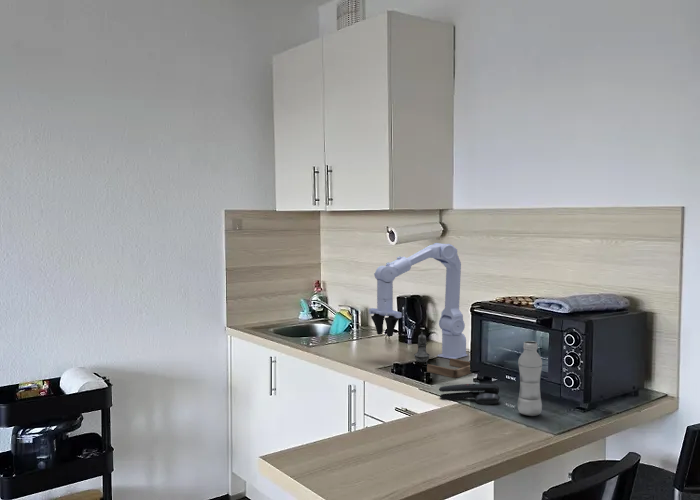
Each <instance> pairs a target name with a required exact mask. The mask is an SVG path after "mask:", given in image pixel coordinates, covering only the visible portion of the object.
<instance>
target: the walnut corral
mask: <svg viewBox="0 0 700 500" xmlns="http://www.w3.org/2000/svg"><path fill="white" fill-rule="evenodd" d="M470 362H471V361H468V360H463V359H462V360H461V359H459V358H457V359H453V358H450V359H449V366H450V367H455V368H456V369H453V368H449V367H445V366H444V367H443V366H440V365H435V364H430V363H428V365H427V366H426V372H427V373H430V374H435V375H439V376H440V375H441V376H444V377H447V378H453V379H457V378H460V377H463V376H466V375H470V374H472V373H471V372H470Z"/></svg>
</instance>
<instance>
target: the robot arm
mask: <svg viewBox="0 0 700 500" xmlns="http://www.w3.org/2000/svg"><path fill="white" fill-rule="evenodd" d="M427 259H434V260H436V261H437V262H440V263H441V264H442V265H443V266H444V267H445V268H446V269H445V270H446V271H445V273H446V274H445V294H444V298H445V299H444V300H445V301H444V308H443V310H442V311H441V313H440V314H441V316H440V319H439V320H438V325H439V328H440V330H441V353H440V354H437V355H436V356H437V357H438V358H439V357H440V358H445V359H449V360H450V358H453V359H460V358H464V357H468V356H469V353H468V354H467V338H466V336H465V334H464V333H463V332H464V331H465V328H466V327H465V326H466V325H465V324H466V323H465V321H464V315H463V313H462V312H461V310H460V296H461V271H462V262H461V260H460V258H459V255H458V249H457V247H455V246H454V245H452V244H451V243H440V242H435V243H433V244H430V245H428V246H426V247H424V248H422V249H420V250H419V251H417V252H415V253H413V254H412V255H409V256H408V257H406V256H397V257H396V259H395V260H393V261H391V262H386V264H385V265H379V266H378V267H377V268H376V269H375V273H373V275H374V277H375V279H376V304H377V305H376V308H373V307H372V308H368V314H369V315H370V316H371V317H370V319H372V322H373V324H374V326H375V330H376V334H377V335H378V336H380V335H383V332H384V321H385V325H386V336H387V338H388V337H393V335H394V330H395V328H396V325H397V323H398V321H399V319H401V318H402V317H403V314H402V312H400V311H397V310H394V307H393V306H394V305H393V304H394V303H393V301H394V300H393V299H394V297H393V296H394V295H393V291H394V289H393V288H394V287H393V285H394V284H393V282H394V281H395V279H396V278H397V277H400V276H401V275H403V274H405V273H407V272H409V271H410V270H411V269H412V266H414V265H416V264H419V263H421V262H423V261H425V260H427Z"/></svg>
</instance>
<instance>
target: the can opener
mask: <svg viewBox="0 0 700 500" xmlns="http://www.w3.org/2000/svg"><path fill="white" fill-rule="evenodd" d="M438 391H440V392H442V393H441V394H440V395H439V398H440V399H441V400H451V401H453V400H463V399H474V400H475V403H477V404H479V405H495V404H497V403H499V402H500V399H501V397H500V396H499V393H500V387H499V386H498V384H496V383H479V382H475V383H461V384H452V385H443V386H441V387H439V389H438ZM443 392H446V393H443ZM448 392H450V393H448Z"/></svg>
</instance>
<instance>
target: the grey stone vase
mask: <svg viewBox="0 0 700 500" xmlns="http://www.w3.org/2000/svg"><path fill="white" fill-rule="evenodd" d="M417 338H418V339H417V340H418V341H417V352H416V353H414V355H413V357H414V359H415V361H416V362H419V363H421V364H424V365H428V364H429V363H428V361H429V359H430V356H431V354H429V353H428V352H427V345H428V344H427V336H426V335H425V334H424V333H423V332H421V333H420V334H419V335H418V337H417ZM425 362H426V364H425Z"/></svg>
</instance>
